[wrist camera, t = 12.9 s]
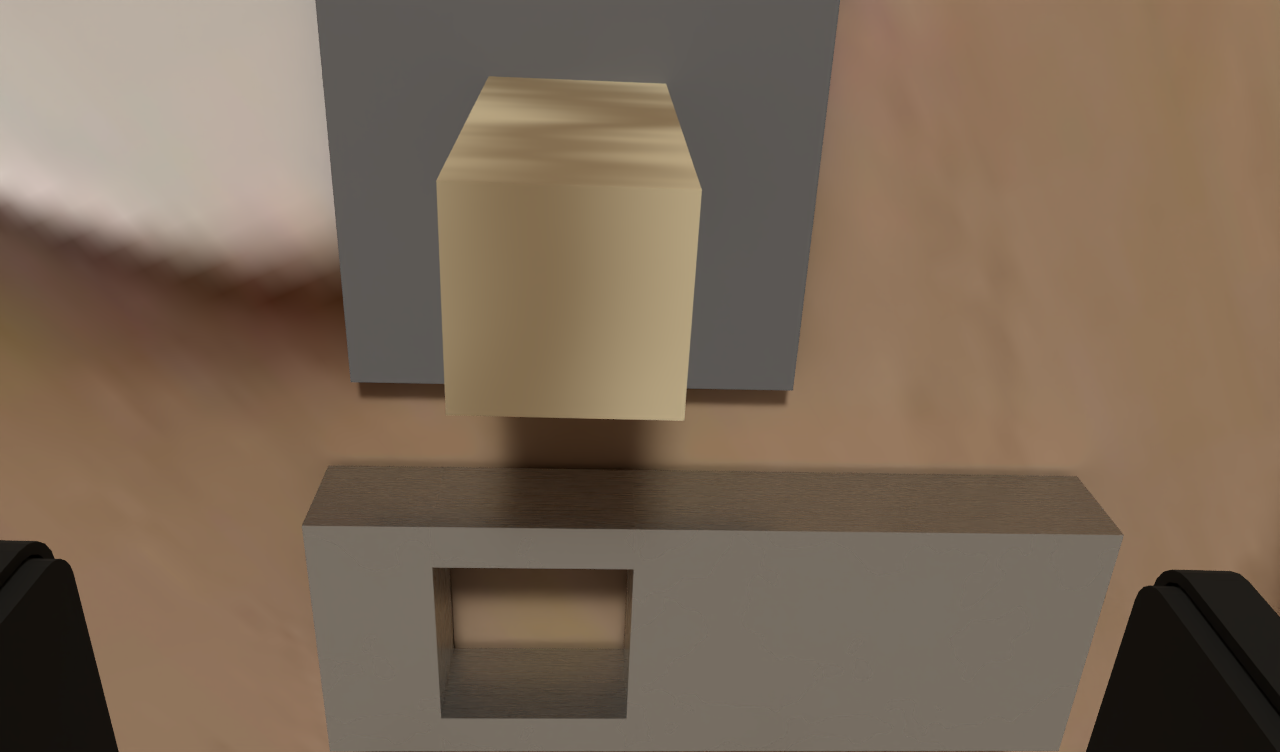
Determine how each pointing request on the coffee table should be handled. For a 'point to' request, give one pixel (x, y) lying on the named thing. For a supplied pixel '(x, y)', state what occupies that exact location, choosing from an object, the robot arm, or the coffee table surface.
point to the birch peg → (568, 252)
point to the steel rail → (713, 609)
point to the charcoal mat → (596, 51)
